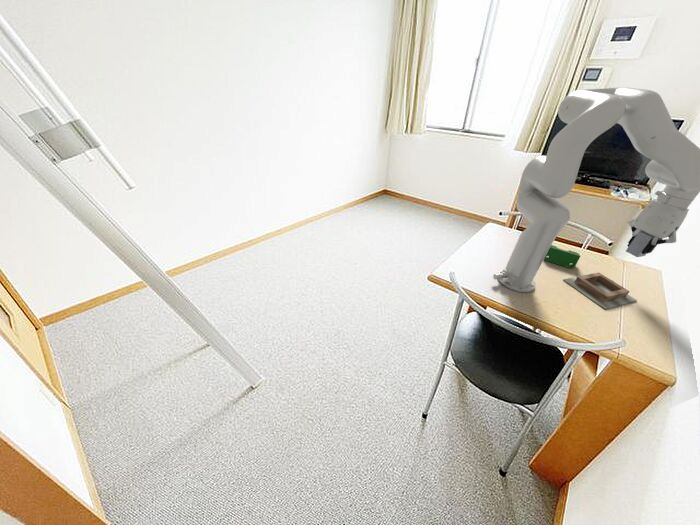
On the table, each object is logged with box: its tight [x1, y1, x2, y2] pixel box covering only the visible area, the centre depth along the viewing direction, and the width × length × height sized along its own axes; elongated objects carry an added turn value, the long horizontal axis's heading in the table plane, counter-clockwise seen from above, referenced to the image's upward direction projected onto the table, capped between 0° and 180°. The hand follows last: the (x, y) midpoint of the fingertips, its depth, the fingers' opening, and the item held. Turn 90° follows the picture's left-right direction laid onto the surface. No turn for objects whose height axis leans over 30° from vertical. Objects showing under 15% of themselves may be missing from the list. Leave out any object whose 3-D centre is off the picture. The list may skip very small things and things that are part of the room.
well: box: [563, 272, 638, 310], centre depth 107 cm, size 16×16×3 cm
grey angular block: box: [625, 231, 654, 258], centre depth 103 cm, size 6×4×8 cm
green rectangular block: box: [543, 244, 581, 269], centre depth 122 cm, size 12×6×9 cm, turn 52°
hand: (638, 249), depth 104 cm, fingers closed on grey angular block, 4 cm apart
